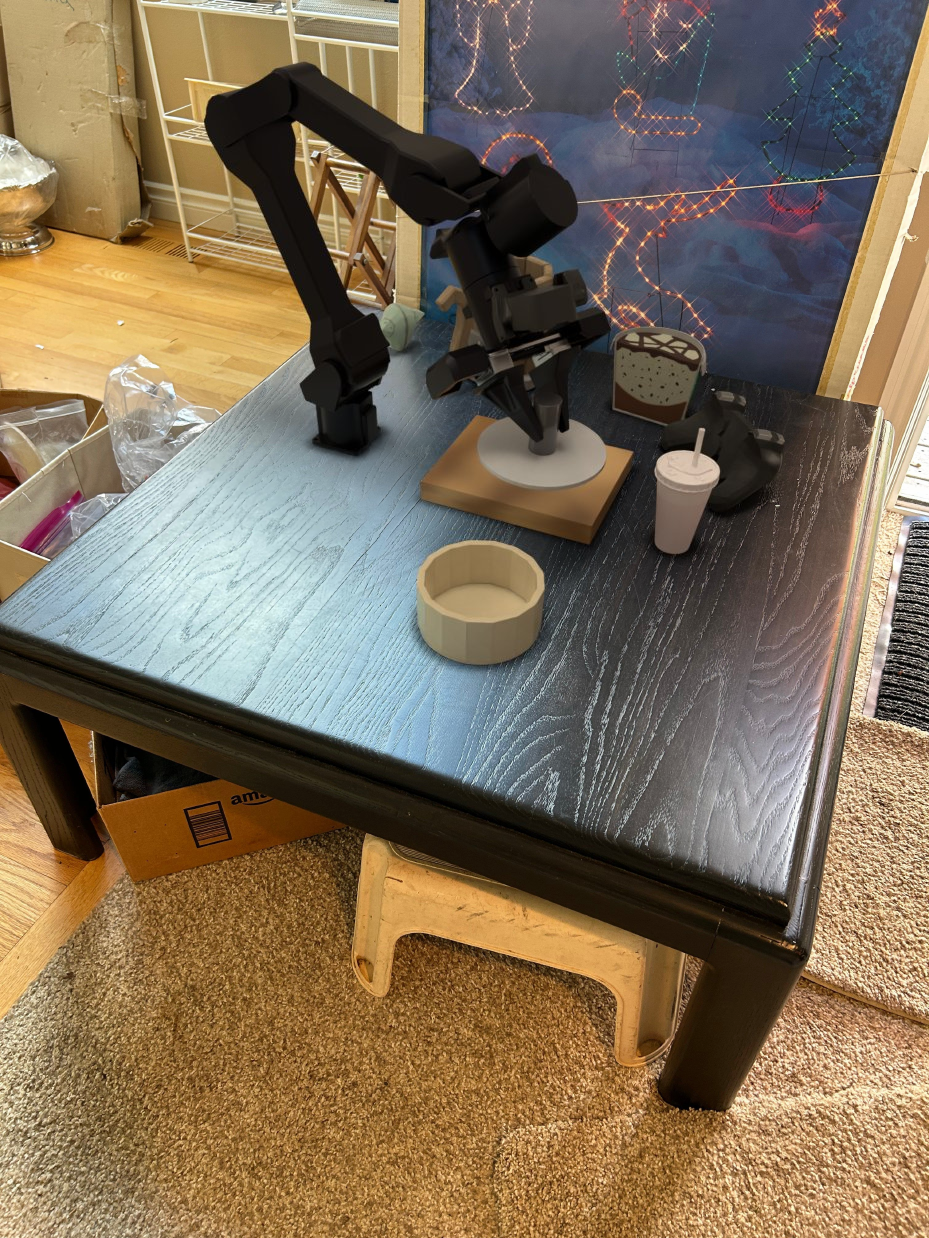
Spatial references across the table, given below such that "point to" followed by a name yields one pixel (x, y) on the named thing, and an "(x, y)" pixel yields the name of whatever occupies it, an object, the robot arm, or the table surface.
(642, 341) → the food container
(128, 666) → the table surface
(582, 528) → the board
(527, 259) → the tankard
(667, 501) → the smoothie
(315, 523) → the table surface
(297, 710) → the table surface
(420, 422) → the table surface
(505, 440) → the lid
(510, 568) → the tin
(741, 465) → the game controller
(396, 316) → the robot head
